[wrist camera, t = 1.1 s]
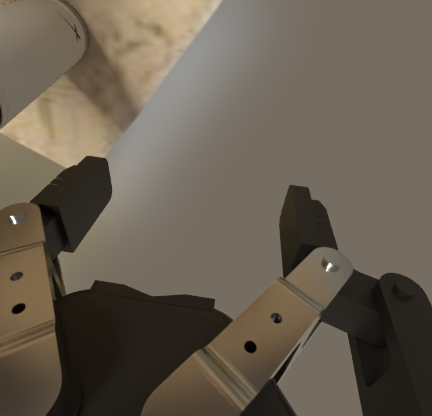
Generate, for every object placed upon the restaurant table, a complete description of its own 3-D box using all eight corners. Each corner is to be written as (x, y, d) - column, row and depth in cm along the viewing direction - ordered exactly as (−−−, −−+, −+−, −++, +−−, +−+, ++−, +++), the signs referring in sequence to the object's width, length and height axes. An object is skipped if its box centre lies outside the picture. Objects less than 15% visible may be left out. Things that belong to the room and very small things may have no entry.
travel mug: (95, 11, 28) (-34, 87, 14) (83, 73, 32) (-27, 182, 18) (26, -26, 26) (-209, 16, 12) (23, 45, 30) (-156, 141, 16)
